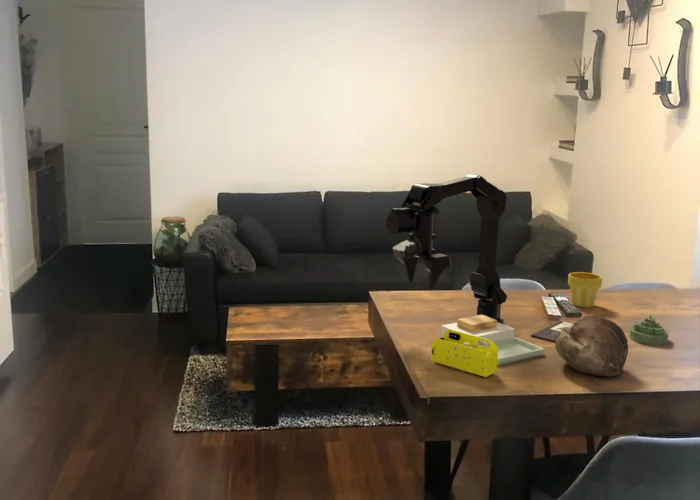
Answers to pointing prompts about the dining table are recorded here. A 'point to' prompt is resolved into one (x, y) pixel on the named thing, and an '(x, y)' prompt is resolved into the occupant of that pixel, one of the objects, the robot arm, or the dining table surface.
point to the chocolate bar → (551, 332)
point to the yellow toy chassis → (465, 353)
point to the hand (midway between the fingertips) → (420, 285)
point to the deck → (484, 331)
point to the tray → (516, 350)
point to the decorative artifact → (648, 332)
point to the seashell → (593, 346)
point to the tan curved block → (476, 323)
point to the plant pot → (584, 288)
